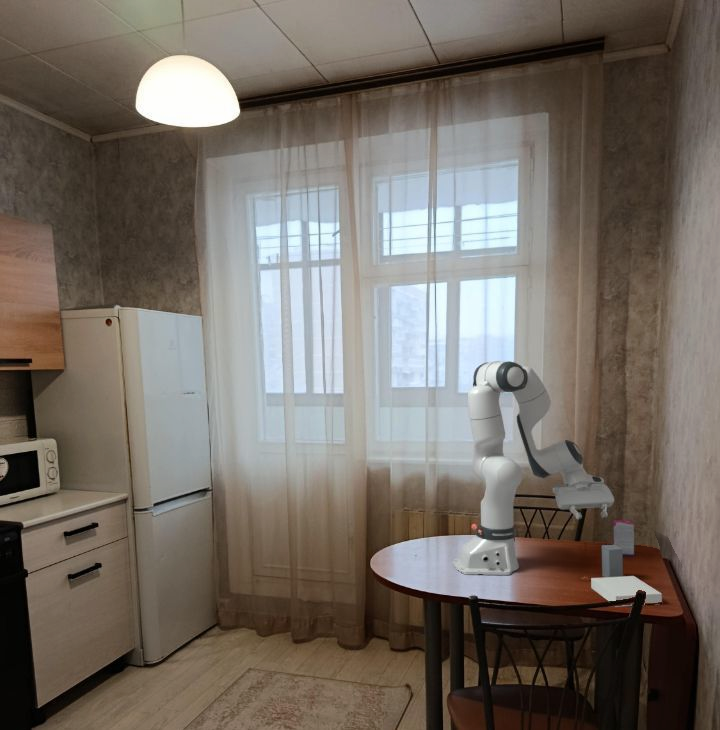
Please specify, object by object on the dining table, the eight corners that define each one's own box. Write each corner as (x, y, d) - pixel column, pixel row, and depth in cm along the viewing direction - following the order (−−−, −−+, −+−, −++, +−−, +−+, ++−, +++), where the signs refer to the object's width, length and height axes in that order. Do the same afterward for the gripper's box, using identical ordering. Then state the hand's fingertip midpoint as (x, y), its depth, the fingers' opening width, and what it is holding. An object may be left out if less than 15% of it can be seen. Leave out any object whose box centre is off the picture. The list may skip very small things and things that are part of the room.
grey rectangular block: (609, 580, 179) (609, 549, 179) (602, 575, 184) (601, 545, 184) (622, 580, 179) (622, 549, 180) (615, 574, 184) (614, 544, 184)
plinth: (616, 606, 160) (615, 596, 160) (591, 587, 174) (591, 578, 174) (661, 604, 161) (661, 593, 161) (633, 585, 175) (633, 575, 175)
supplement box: (634, 556, 202) (634, 524, 202) (617, 555, 203) (616, 524, 203) (629, 551, 207) (629, 520, 207) (613, 550, 208) (612, 519, 208)
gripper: (553, 480, 201) (566, 514, 191) (607, 477, 203) (623, 511, 193) (548, 490, 205) (561, 523, 195) (601, 487, 207) (616, 520, 197)
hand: (592, 517), depth 194 cm, fingers open, 8 cm apart
